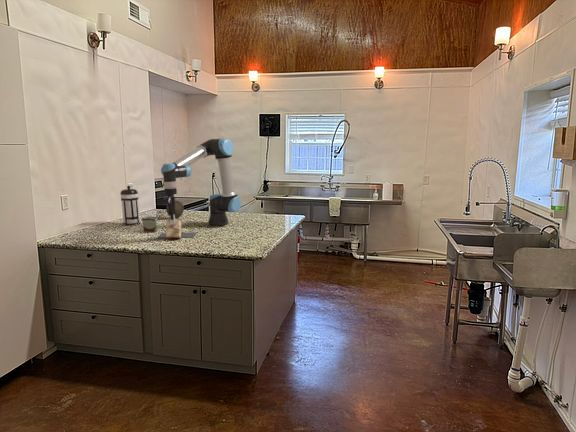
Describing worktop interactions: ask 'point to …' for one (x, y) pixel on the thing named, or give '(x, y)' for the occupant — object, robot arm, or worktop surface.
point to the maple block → (174, 229)
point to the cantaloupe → (177, 209)
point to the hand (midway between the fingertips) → (172, 224)
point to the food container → (149, 224)
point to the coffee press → (130, 206)
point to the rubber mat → (183, 235)
